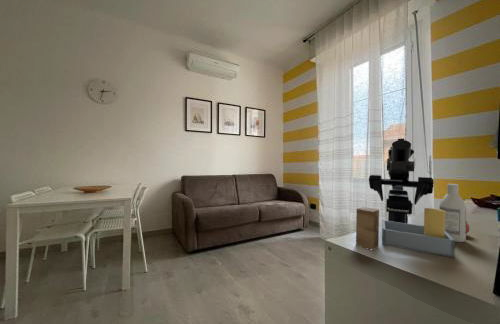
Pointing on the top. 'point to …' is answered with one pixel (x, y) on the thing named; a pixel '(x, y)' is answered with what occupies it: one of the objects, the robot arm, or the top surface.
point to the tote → (416, 239)
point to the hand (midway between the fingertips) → (397, 201)
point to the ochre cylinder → (434, 222)
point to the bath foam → (454, 213)
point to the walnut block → (367, 227)
